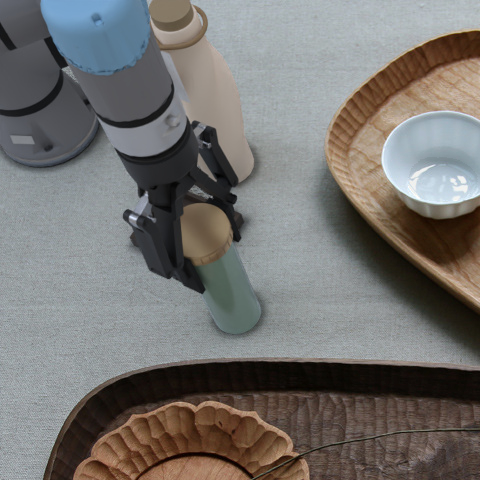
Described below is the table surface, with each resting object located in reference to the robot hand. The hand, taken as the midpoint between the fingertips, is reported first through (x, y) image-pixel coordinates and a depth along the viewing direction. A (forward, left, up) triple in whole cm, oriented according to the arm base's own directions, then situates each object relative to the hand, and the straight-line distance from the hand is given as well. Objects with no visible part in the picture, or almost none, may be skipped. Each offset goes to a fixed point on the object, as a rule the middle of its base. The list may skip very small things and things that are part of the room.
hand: (212, 261), depth 97 cm
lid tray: (-13, +8, -13) cm, 20 cm away
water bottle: (-14, +20, -13) cm, 28 cm away
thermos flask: (0, 0, -13) cm, 13 cm away
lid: (0, 0, +6) cm, 6 cm away
